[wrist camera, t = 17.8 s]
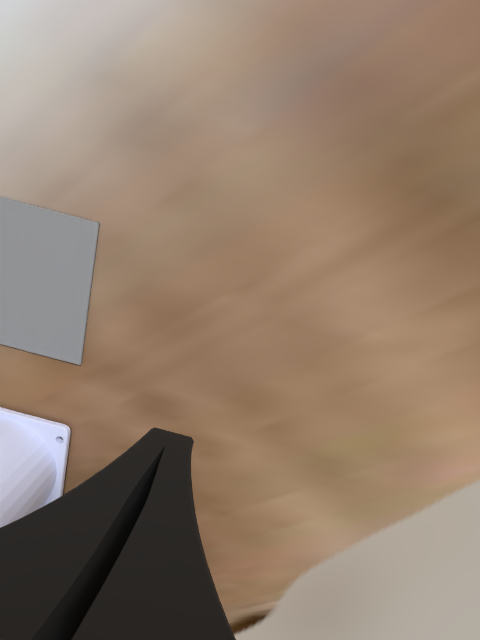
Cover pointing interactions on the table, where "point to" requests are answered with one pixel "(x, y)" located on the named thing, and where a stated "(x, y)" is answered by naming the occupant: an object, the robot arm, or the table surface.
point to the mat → (45, 279)
